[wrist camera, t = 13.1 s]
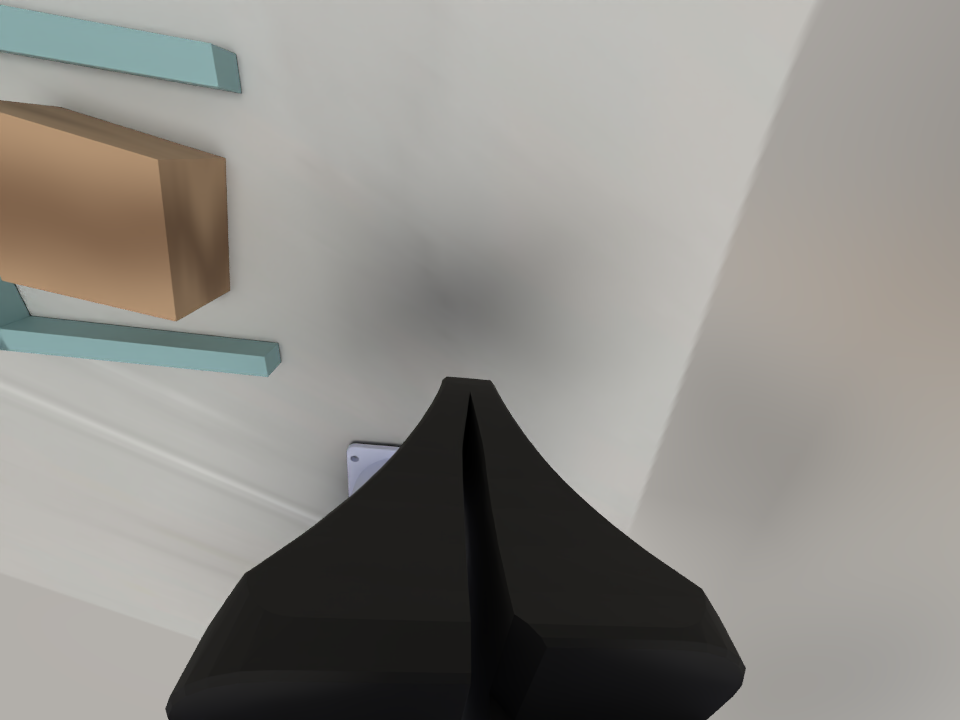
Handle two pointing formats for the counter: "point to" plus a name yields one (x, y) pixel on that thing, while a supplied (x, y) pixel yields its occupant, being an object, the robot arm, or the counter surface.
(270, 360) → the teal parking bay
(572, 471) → the counter surface
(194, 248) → the walnut block
